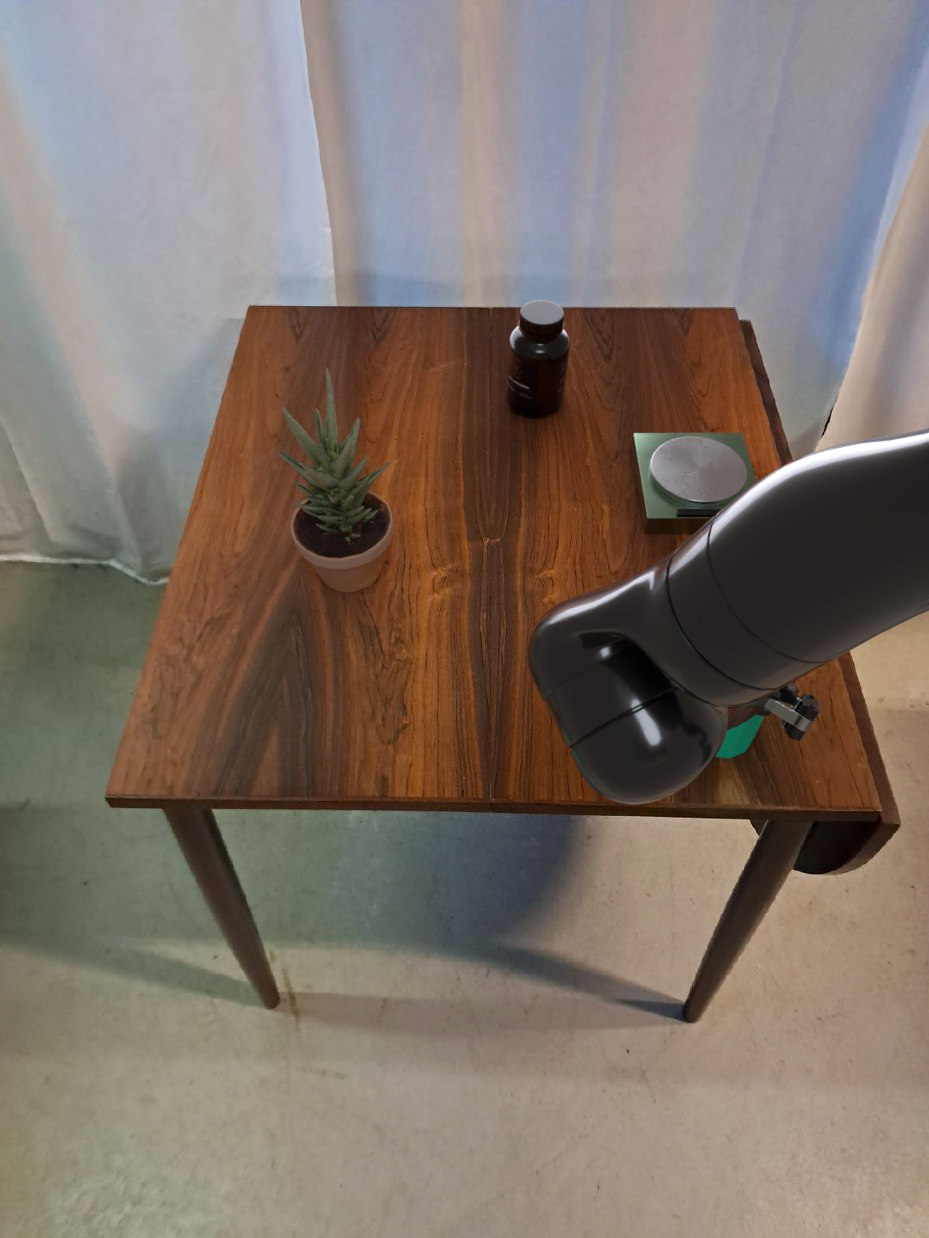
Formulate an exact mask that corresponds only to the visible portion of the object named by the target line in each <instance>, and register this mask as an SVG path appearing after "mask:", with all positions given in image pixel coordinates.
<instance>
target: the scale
mask: <svg viewBox="0 0 929 1238" xmlns="http://www.w3.org/2000/svg"><path fill="white" fill-rule="evenodd" d="M630 445H631V446H630V455H631V460H632V461H631V462H632V467H633V473H634V479H635V480H634V481H635V486H636V491H637V499H638V503H639V510H640V517H641V523H642V529H643V534H644V535H693V534H694V533H695V532H696V531H698V530H699V529H700V528H701V527H702V526H703V525H705V524H706V523H707V522H708V521H709V520H710V519H712V518H713V517H714V516H715V515H716V514H717V513H719V512H720V511H721V510H722V509H723V508H725V507H726V506H727V505H728V504H729V503H730V502H731V501H733V500H734V499H735V498H736V497H737V496H738V495H740V494H741V493H743V492H744V491H745V490H747V489H748V488H749V487H751V486H752V485H753V484H755V483H756V482H757V479H756V475H755V472H754V468H753V465H752V462H751V461H752V460H751V458H750V454H749V450H748V448H747V444H746V441H745V437H744V433H743V432H633V434H632V440H631V444H630Z"/></svg>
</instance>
